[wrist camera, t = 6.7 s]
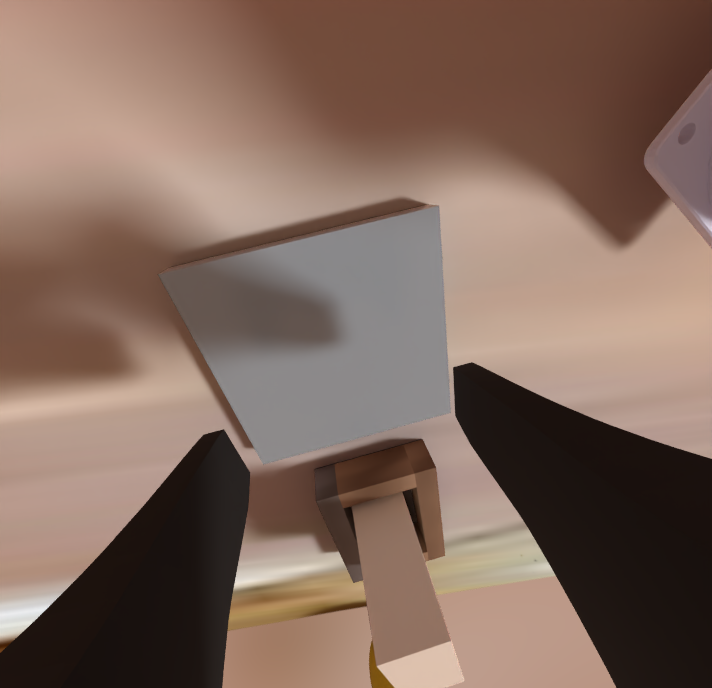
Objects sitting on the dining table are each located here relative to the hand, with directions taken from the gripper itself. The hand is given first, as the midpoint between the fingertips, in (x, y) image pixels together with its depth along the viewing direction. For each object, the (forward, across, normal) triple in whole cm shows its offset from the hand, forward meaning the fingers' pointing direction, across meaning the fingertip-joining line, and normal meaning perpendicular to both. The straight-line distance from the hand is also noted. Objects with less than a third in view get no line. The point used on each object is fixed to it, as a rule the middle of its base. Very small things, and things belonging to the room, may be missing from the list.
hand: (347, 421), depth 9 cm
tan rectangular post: (+5, 0, +12) cm, 13 cm away
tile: (+5, 0, 0) cm, 5 cm away
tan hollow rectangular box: (+5, 0, +12) cm, 13 cm away
